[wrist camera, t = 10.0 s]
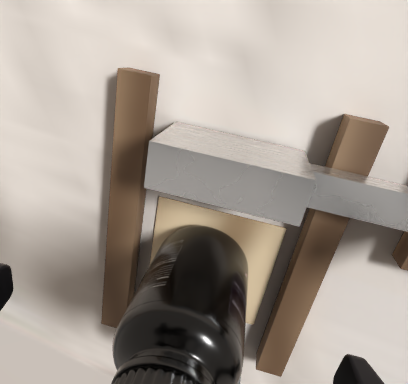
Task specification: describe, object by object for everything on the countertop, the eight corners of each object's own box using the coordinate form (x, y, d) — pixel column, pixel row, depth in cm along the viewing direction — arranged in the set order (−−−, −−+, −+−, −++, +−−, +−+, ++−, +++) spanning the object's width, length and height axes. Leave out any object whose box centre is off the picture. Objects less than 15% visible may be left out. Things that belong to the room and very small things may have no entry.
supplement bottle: (167, 298, 26) (94, 474, 15) (152, 223, 23) (50, 369, 12) (253, 300, 24) (241, 498, 13) (247, 220, 22) (226, 385, 11)
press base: (511, 149, 17) (598, 182, 13) (366, 385, 26) (387, 455, 21) (128, 67, 19) (85, 70, 15) (109, 310, 28) (78, 360, 23)
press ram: (491, 188, 18) (660, 288, 10) (463, 233, 19) (595, 352, 11) (176, 117, 20) (118, 156, 12) (170, 162, 21) (113, 224, 13)
